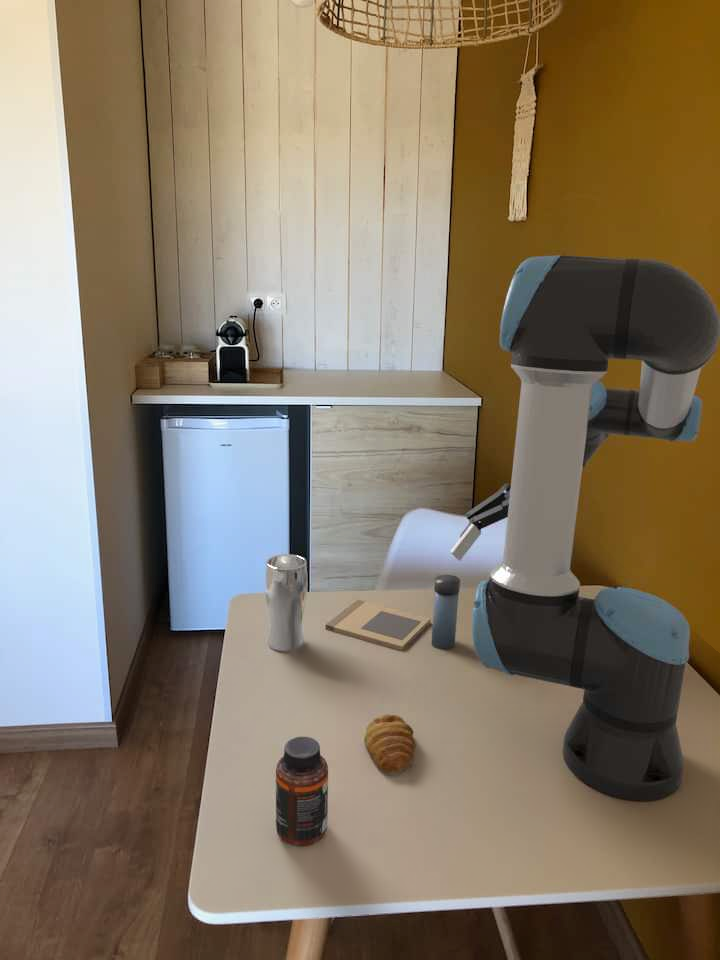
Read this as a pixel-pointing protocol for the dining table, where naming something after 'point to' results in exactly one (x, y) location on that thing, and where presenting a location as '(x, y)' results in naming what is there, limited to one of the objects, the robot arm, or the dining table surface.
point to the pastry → (390, 744)
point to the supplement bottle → (301, 793)
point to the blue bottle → (445, 611)
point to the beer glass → (286, 600)
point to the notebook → (378, 624)
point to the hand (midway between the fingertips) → (479, 569)
